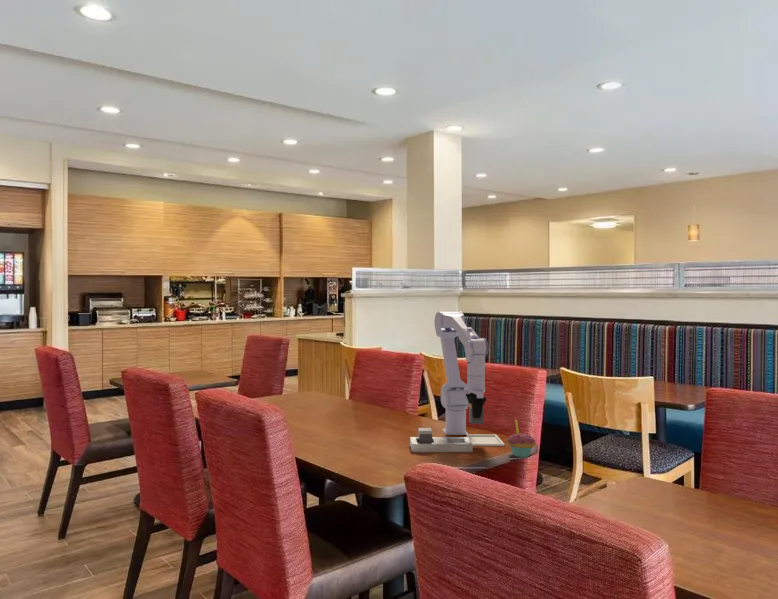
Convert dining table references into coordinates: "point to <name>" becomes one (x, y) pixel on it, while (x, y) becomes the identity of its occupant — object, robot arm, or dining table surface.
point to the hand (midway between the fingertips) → (475, 416)
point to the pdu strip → (442, 445)
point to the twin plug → (424, 435)
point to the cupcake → (521, 443)
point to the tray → (485, 440)
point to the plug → (475, 420)
